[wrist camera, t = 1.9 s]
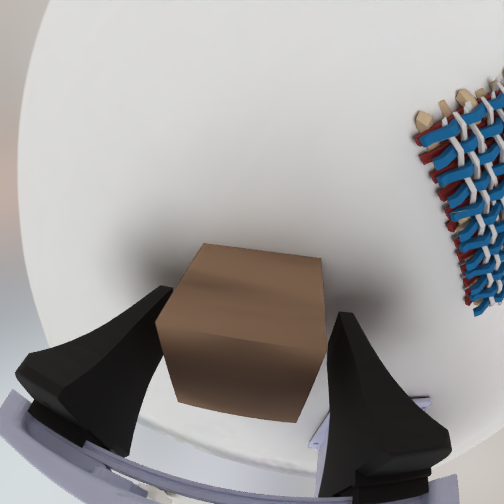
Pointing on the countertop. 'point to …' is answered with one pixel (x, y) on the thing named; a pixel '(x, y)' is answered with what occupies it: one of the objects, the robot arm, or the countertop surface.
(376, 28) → the countertop surface
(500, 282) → the woven mat
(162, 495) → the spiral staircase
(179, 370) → the walnut block
